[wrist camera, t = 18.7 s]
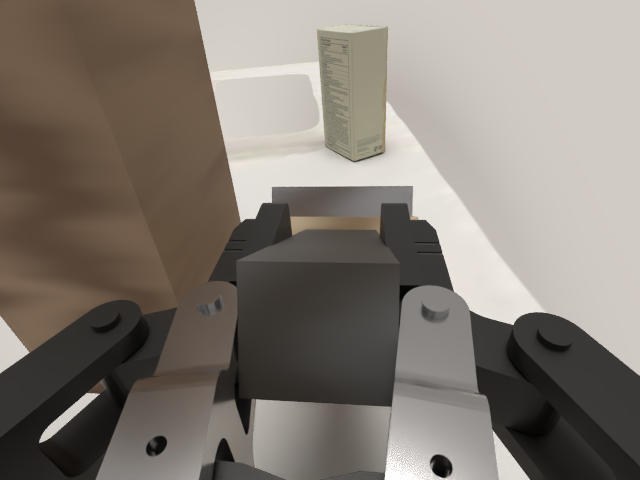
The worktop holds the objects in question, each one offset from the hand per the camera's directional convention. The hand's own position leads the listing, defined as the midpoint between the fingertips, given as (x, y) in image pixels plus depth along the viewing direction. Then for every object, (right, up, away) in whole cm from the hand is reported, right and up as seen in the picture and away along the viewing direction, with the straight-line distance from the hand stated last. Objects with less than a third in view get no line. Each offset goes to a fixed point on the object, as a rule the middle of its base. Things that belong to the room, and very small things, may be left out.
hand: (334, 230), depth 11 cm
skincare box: (+3, +10, +31) cm, 33 cm away
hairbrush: (0, -2, +3) cm, 4 cm away
